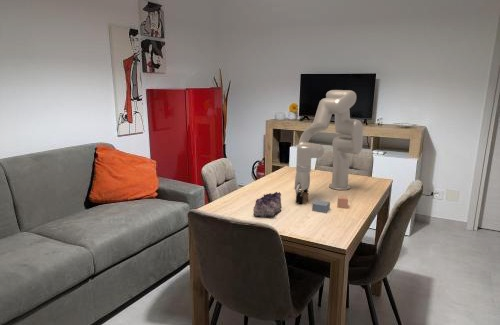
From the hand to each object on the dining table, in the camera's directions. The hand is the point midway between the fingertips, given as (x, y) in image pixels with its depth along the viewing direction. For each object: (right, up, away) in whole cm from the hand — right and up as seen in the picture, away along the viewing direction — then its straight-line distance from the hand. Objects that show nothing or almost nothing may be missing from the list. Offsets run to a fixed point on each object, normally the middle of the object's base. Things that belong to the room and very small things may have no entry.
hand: (302, 200), depth 190 cm
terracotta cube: (+20, -2, -6) cm, 21 cm away
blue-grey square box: (+8, -4, -12) cm, 14 cm away
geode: (-19, -4, -15) cm, 24 cm away
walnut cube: (0, -1, 0) cm, 1 cm away
